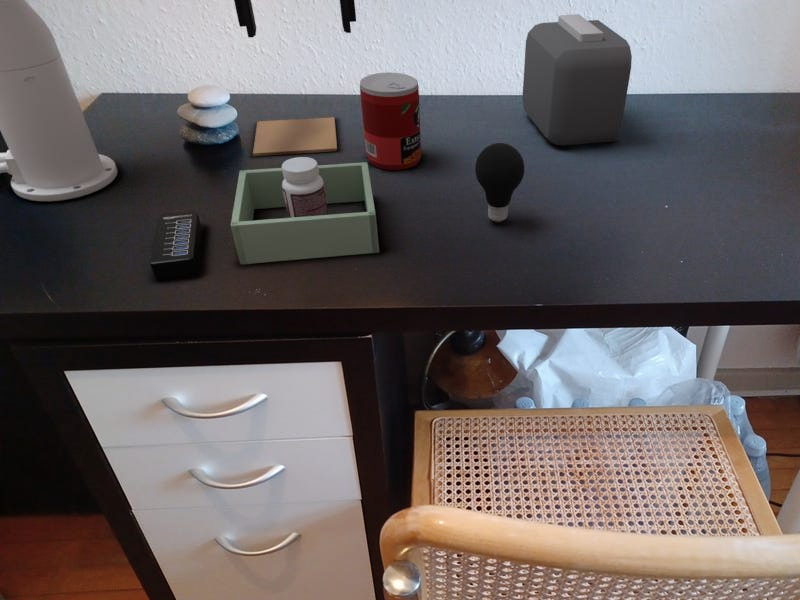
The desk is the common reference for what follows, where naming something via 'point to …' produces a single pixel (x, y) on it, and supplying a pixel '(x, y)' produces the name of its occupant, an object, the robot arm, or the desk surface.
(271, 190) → the open box
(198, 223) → the multiport hub
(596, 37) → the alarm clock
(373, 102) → the canned food
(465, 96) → the desk surface
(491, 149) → the light bulb
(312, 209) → the pill bottle
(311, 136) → the coaster
